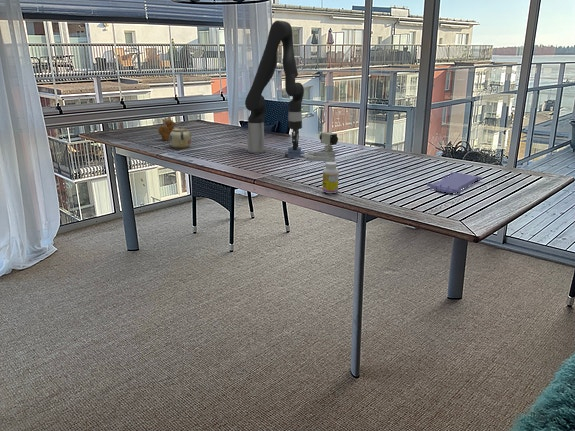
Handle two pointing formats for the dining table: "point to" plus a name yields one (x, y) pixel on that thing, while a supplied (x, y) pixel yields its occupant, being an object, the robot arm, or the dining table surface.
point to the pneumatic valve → (328, 140)
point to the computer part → (454, 182)
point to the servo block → (294, 152)
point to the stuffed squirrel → (166, 130)
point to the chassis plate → (320, 156)
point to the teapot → (180, 138)
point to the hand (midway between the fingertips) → (295, 148)
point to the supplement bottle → (330, 178)
